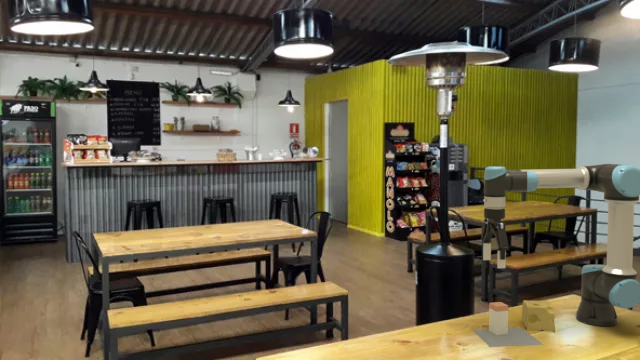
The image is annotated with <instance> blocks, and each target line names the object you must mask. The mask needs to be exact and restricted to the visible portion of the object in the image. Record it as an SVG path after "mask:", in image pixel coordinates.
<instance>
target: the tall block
mask: <svg viewBox="0 0 640 360" xmlns="http://www.w3.org/2000/svg"><path fill="white" fill-rule="evenodd" d="M488 304H489V305H488V307H489V308H488V309H489V310H488V329H489V331H490V332H492V333H494V334H495V335H501V334H508V328H509V305H508V304H507V303H504V302H501V301H495V302H489V303H488Z"/></svg>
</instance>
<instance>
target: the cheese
mask: <svg viewBox="0 0 640 360" xmlns="http://www.w3.org/2000/svg"><path fill="white" fill-rule="evenodd" d="M521 318H522V319H521V320H522V324H523V325H524V326H525V327H526V331H537V332H538V331H539V332H540V331H543V332H551V333H554V334H555V333H556V323H555V319H556V318H555V312H554V307H553V305H552V303H551V301H550V300H525V299H523V301H522V304H521Z"/></svg>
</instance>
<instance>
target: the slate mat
mask: <svg viewBox="0 0 640 360" xmlns="http://www.w3.org/2000/svg"><path fill="white" fill-rule="evenodd" d="M471 330H472V331H473V332H474V334H476V335H477V336H478V337H479V338H480V339H481V340H482V341H483V342H484V343H485V344H486V345H487V346H488V347H489V348H496V347H498V348H499V347H501V348H502V347H519V346H520V347H522V346H542V345H544V344H545V343H544V344H543V343H542V342H541V341H540V340H538V338H536V337H534V336H533V335H532V334H530V333H529V331H527V330H525V329H524V328H522V327H508V334H501V335H495V334H494V333H492V332H490V331H489V328H478V329H477V328H476V329H471Z"/></svg>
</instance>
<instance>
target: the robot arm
mask: <svg viewBox="0 0 640 360" xmlns="http://www.w3.org/2000/svg"><path fill="white" fill-rule="evenodd" d="M483 183H484V189H483V193H484V195H483V198H484V199H483V200H482V202H484V203H483V204H484V205H483V207H484V209H483V218H484V220H483V228H482V231H481V235H480V236H481V237H480V240H481V241H482V244H483V245H482V246H483V253H482V254H483V256H482V260H483V261H491V260H492V256H491V255H492V254H491V253H492V238H493V236H494V237H495V241H496V244H497V249H496V251H497V267H496V268H497V269H506V265H507V264H506V259H507V258H506V256H507V255H506V251H509V250H510V247H509V242H508V241H509V240H508V236H507V231H506V223H505V222H502V220H504V219H505V218H506V209H505V207H506V192H507V193H510V192H520V193H521V192H526V193H528V192H534V191H536V190H537V189H559V188H561V189H564V188H565V189H566V188H567V189H569V188H571V189H572V188H573V189H574V188H578V189H579V190H581V191H593V192H594V191H595V192H598V193H599V192H601V193H603V200H604V201H605V203H607V205H608V206H607V239H606V240H607V245H606V264H586V265H583V266H582V268H581V274H580V275H581V286H580V288H581V294H580V296H581V298H580V301H579V305H578V307H577V309H576V315H575V318H576V320H577V321H578V322H581V323H584V324H587V325H590V326H596V327H597V326H598V327H612V326H613V327H614V326H616V325H617V324H618V320H619V319H618V315H617V311H616V309H615V307H617V308H621V309H630V308H634V307H635V306H637V304H639V303H640V282H639V281H638V280H637V278H638V277H637V275H638V273H637V271H636V269H634V267H633V260H634V257H633V254H634V253H633V252H634V226H635V225H634V223H635V221H634V219H635V205H636V204H637V203H638V202H639V201H640V168H639V167H637V166H634V165H629V164H622V163H621V164H620V163H619V164H617V163H603V164H596V165H595V164H594V165H580V166H579V167H578V168H545V169H544V168H541V169H539V168H537V169H532V168H531V169H506V166H486V167H485V169H484V175H483Z"/></svg>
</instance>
